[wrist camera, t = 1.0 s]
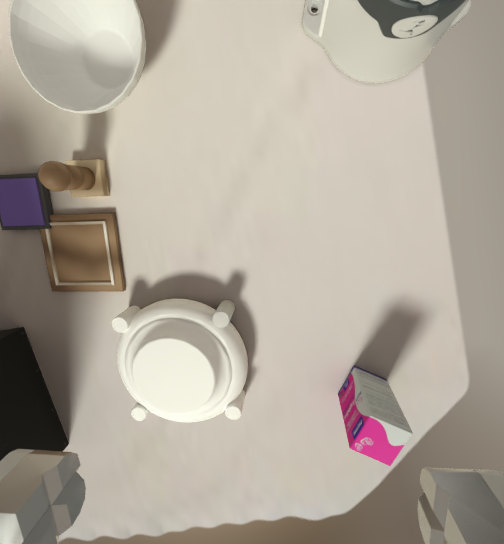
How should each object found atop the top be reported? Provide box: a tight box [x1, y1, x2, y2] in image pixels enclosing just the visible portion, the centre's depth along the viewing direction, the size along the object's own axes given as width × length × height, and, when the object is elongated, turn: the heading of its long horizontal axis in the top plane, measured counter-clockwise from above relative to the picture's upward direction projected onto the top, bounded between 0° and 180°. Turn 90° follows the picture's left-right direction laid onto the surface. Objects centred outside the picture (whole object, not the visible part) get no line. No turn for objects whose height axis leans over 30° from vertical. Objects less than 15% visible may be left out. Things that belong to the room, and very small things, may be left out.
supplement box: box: [338, 366, 413, 466], centre depth 44 cm, size 6×6×12 cm
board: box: [40, 213, 125, 291], centre depth 49 cm, size 12×12×1 cm
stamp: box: [38, 159, 109, 197], centre depth 42 cm, size 5×5×9 cm
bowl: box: [9, 0, 146, 114], centre depth 39 cm, size 16×16×7 cm
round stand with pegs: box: [112, 299, 248, 422], centre depth 48 cm, size 24×24×7 cm
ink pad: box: [0, 174, 53, 230], centre depth 47 cm, size 8×8×2 cm
